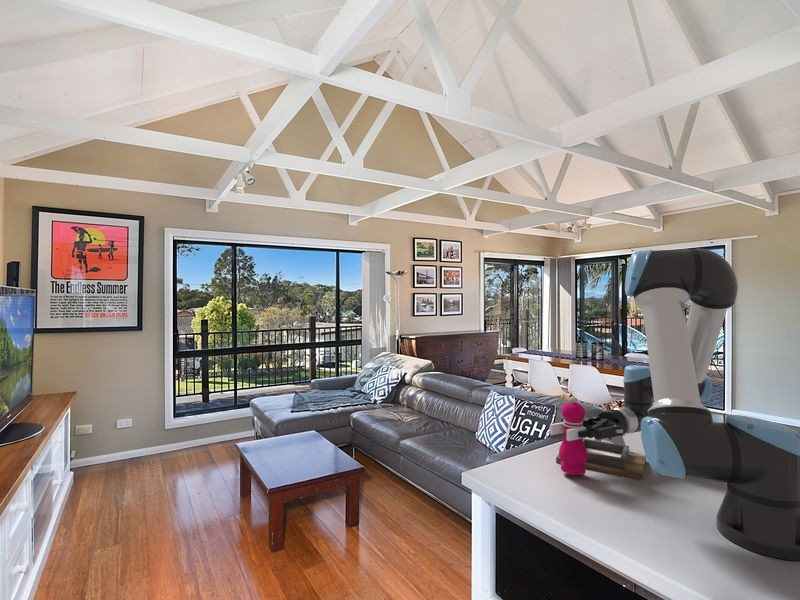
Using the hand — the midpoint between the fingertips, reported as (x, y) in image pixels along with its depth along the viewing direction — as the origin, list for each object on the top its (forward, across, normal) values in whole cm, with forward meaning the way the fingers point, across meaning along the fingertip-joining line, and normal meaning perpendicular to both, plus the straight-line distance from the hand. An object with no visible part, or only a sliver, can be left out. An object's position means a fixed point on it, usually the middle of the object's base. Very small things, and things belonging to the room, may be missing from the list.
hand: (559, 432), depth 113 cm
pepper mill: (-5, 0, -11) cm, 12 cm away
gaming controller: (-35, +11, -12) cm, 38 cm away
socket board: (-21, +3, -12) cm, 24 cm away
